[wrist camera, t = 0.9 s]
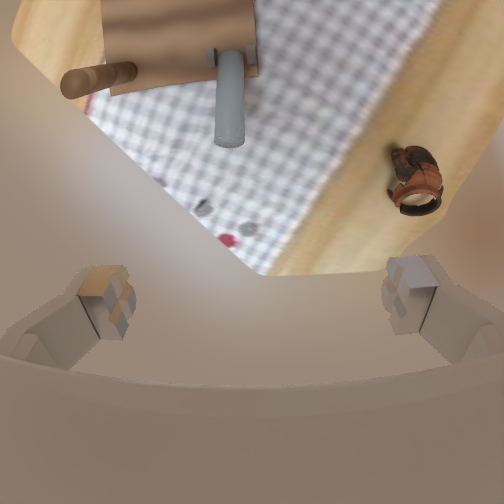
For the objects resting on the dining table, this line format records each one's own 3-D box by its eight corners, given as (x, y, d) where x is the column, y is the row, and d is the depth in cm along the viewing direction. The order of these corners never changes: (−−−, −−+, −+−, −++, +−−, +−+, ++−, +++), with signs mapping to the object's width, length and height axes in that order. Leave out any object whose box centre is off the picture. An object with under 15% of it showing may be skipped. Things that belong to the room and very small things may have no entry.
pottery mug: (444, 165, 43) (456, 207, 40) (399, 185, 50) (406, 226, 47) (410, 121, 37) (423, 165, 33) (359, 149, 44) (365, 193, 41)
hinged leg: (216, 51, 31) (212, 134, 29) (242, 49, 31) (243, 132, 28) (220, 67, 34) (216, 149, 32) (244, 65, 33) (245, 147, 31)
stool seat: (107, -26, 27) (41, -47, 13) (249, -54, 26) (242, -106, 12) (118, 94, 38) (54, 119, 25) (258, 75, 37) (256, 85, 24)
